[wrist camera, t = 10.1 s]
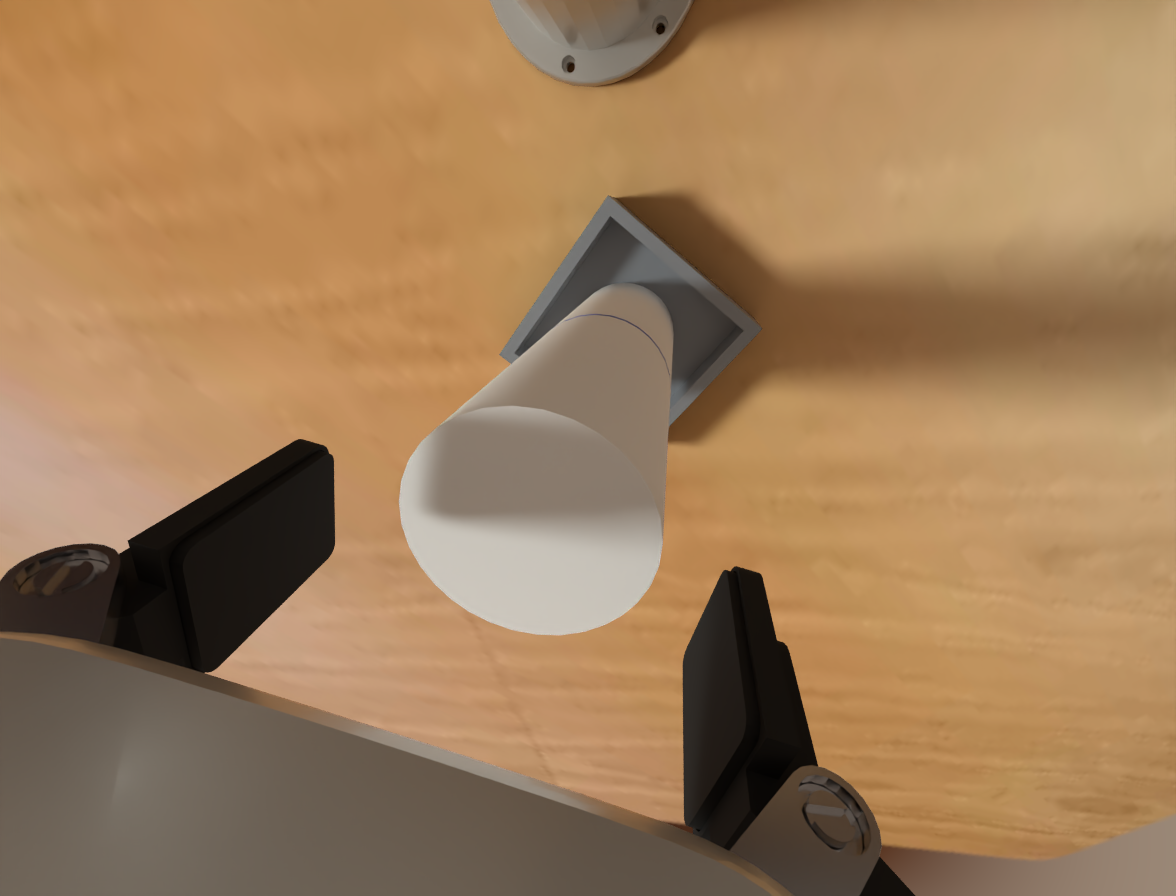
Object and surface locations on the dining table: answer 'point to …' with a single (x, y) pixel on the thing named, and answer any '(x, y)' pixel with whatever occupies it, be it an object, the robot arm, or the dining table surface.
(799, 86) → the dining table surface
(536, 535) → the cylindrical container
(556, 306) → the tray
